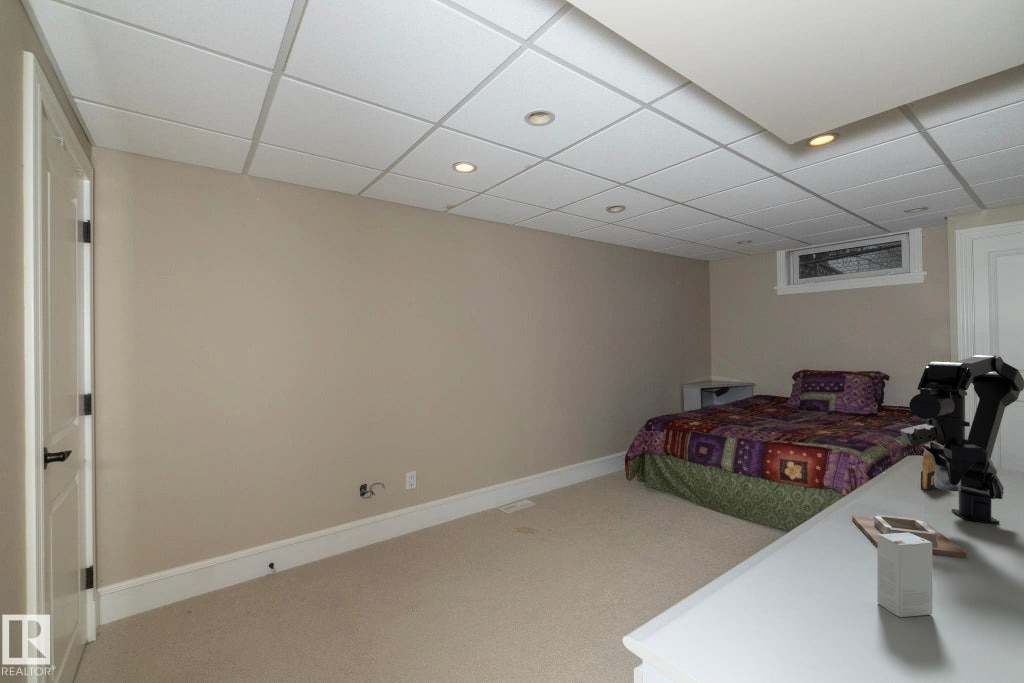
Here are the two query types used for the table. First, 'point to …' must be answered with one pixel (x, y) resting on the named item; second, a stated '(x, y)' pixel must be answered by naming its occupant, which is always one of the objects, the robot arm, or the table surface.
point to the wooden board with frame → (907, 525)
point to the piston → (944, 479)
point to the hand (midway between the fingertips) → (947, 481)
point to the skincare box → (904, 574)
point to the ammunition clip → (927, 472)
